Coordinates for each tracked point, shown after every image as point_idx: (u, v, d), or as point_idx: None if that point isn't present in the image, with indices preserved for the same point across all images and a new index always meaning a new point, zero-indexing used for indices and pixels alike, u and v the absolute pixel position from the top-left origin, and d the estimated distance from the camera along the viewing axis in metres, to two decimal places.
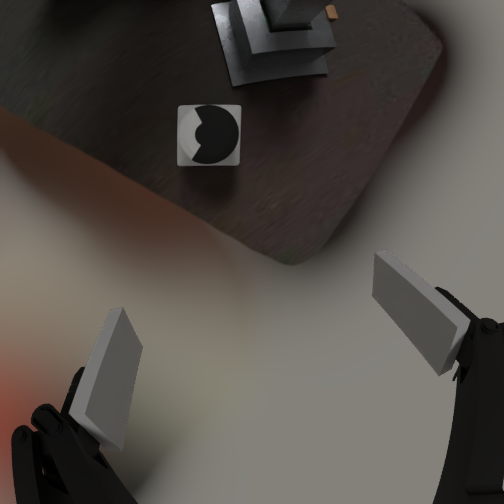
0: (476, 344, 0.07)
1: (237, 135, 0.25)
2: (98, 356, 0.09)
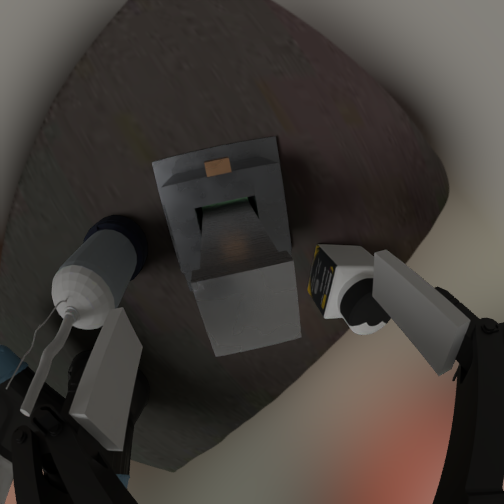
0: (476, 344, 0.07)
1: None
2: (98, 356, 0.09)
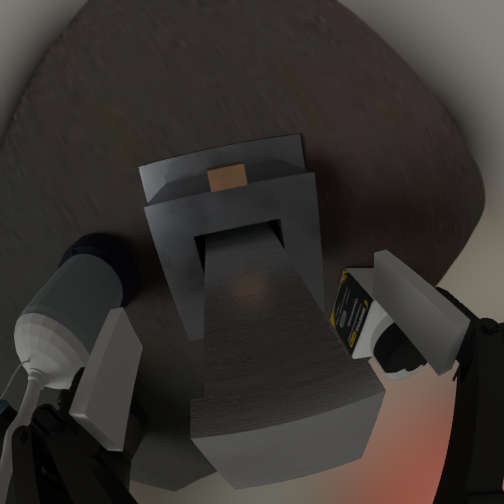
0: (476, 344, 0.07)
1: None
2: (98, 356, 0.09)
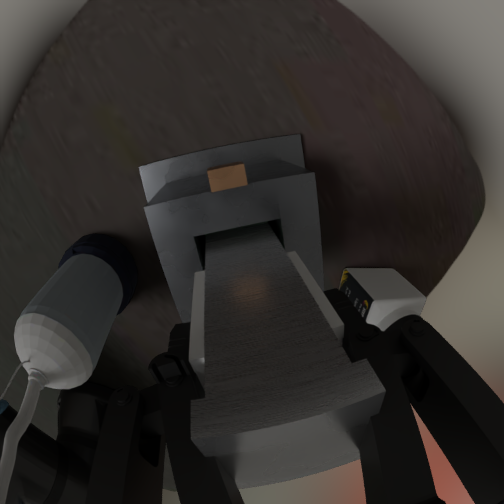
0: (354, 357, 0.08)
1: None
2: (202, 308, 0.12)
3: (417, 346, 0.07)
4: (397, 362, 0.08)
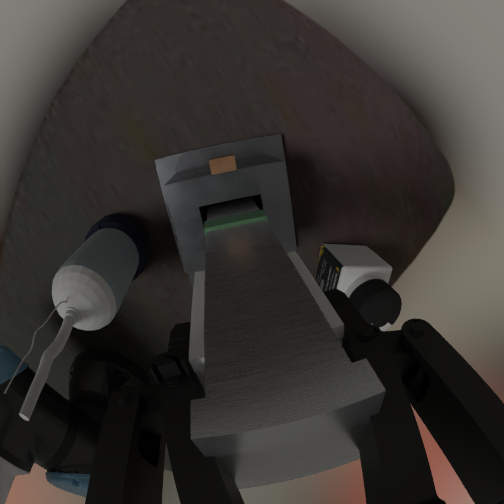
0: (354, 357, 0.08)
1: (388, 292, 0.26)
2: (202, 308, 0.12)
3: (417, 346, 0.07)
4: (397, 362, 0.08)
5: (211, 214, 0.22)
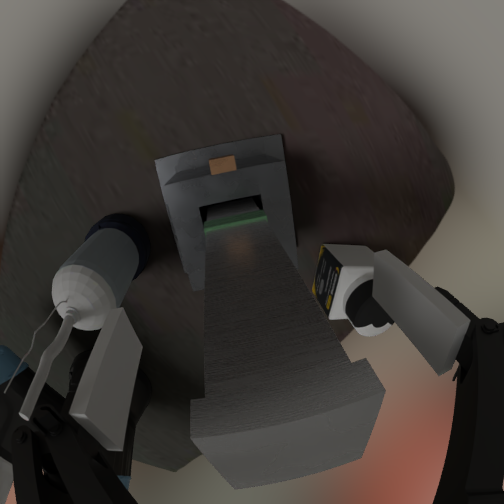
0: (476, 344, 0.07)
1: None
2: (98, 356, 0.09)
3: None
4: None
5: (211, 214, 0.22)
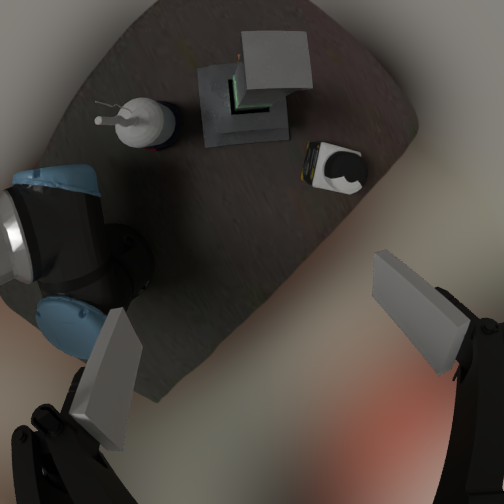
0: (476, 344, 0.07)
1: (355, 154, 0.35)
2: (98, 356, 0.09)
3: None
4: None
5: None
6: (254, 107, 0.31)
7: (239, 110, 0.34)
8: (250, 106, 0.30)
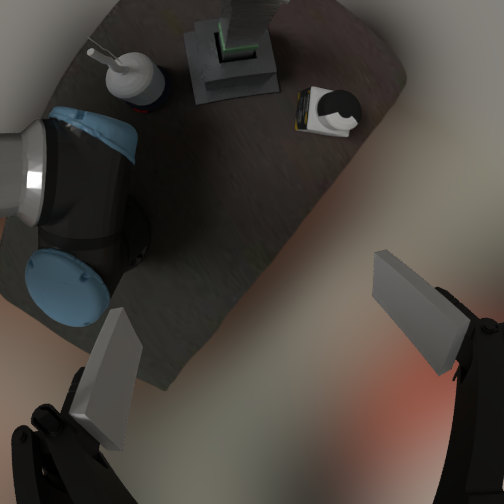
0: (476, 344, 0.07)
1: (346, 91, 0.33)
2: (98, 356, 0.09)
3: None
4: None
5: None
6: (241, 50, 0.28)
7: (227, 59, 0.32)
8: (237, 48, 0.27)
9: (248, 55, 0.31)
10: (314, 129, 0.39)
